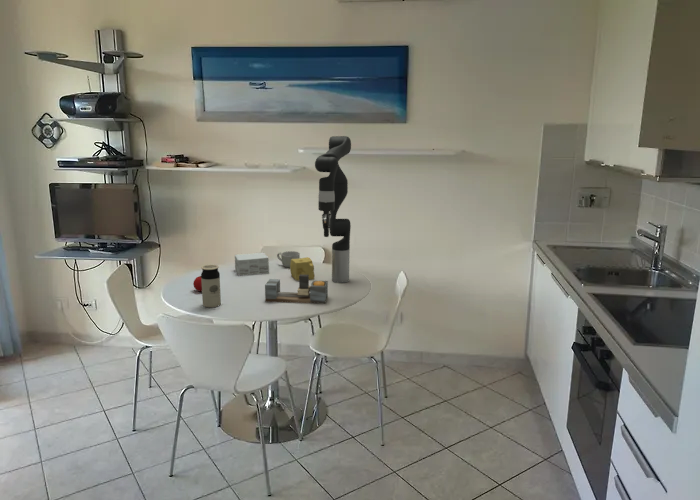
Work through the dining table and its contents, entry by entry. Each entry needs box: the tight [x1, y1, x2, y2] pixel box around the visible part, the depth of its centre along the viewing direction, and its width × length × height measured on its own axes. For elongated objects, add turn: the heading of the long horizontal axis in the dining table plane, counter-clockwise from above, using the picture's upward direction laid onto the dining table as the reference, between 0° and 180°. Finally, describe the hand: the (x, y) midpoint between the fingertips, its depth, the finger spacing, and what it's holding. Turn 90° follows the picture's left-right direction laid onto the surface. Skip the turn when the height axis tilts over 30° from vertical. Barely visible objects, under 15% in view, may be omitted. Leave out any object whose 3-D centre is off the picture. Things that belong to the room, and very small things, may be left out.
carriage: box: [297, 274, 311, 295], centre depth 242 cm, size 7×5×8 cm
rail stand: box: [264, 278, 329, 305], centre depth 243 cm, size 10×28×8 cm, turn 86°
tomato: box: [193, 275, 202, 293], centre depth 254 cm, size 9×9×8 cm
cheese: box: [289, 256, 315, 282], centre depth 278 cm, size 10×11×10 cm
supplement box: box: [234, 252, 270, 277], centre depth 288 cm, size 17×13×9 cm
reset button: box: [314, 280, 324, 286], centre depth 242 cm, size 5×5×4 cm
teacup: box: [276, 250, 301, 269], centre depth 301 cm, size 14×11×8 cm
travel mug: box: [200, 264, 222, 308], centre depth 233 cm, size 8×8×18 cm
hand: (326, 236), depth 244 cm, fingers closed
